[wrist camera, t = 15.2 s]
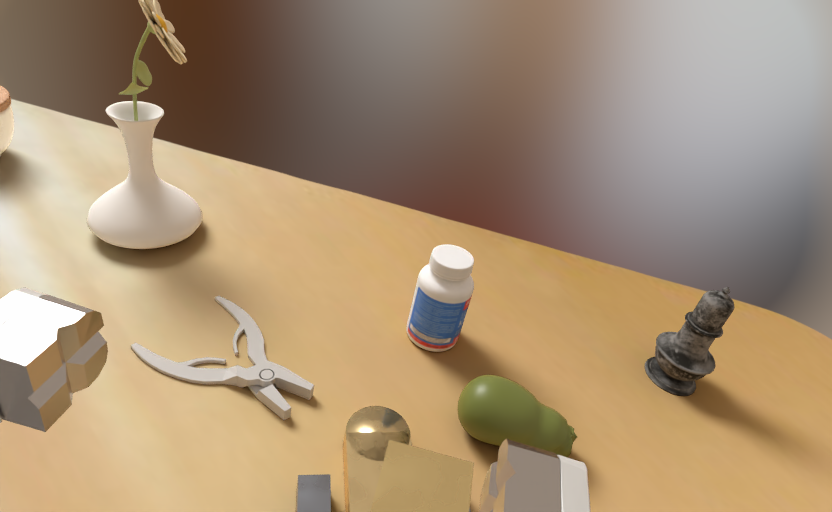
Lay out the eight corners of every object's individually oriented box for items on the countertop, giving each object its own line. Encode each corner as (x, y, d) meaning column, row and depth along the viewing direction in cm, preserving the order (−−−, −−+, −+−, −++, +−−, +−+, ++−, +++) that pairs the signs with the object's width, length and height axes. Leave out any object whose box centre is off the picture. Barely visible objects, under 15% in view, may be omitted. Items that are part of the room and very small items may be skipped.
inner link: (341, 421, 44) (344, 405, 43) (401, 421, 45) (405, 406, 44) (346, 538, 37) (350, 522, 35) (418, 534, 38) (423, 519, 37)
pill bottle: (461, 355, 53) (487, 277, 48) (408, 352, 52) (428, 272, 47) (452, 317, 58) (475, 242, 52) (403, 314, 57) (421, 237, 51)
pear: (479, 352, 46) (585, 402, 46) (455, 390, 49) (555, 437, 49) (468, 399, 41) (587, 455, 41) (442, 438, 44) (553, 491, 44)
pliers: (220, 287, 53) (339, 364, 48) (220, 299, 54) (338, 377, 48) (126, 339, 45) (255, 437, 40) (128, 352, 46) (255, 450, 41)
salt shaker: (685, 360, 59) (742, 273, 53) (707, 402, 54) (774, 313, 48) (634, 351, 59) (686, 263, 52) (652, 393, 54) (712, 302, 47)
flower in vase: (181, 267, 56) (163, 11, 42) (66, 249, 55) (9, -19, 41) (221, 205, 67) (217, -14, 53) (126, 189, 66) (96, -39, 52)
